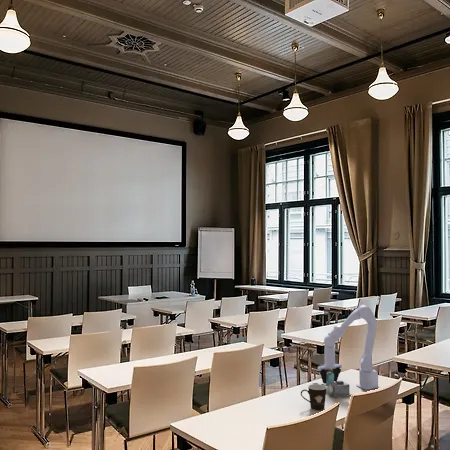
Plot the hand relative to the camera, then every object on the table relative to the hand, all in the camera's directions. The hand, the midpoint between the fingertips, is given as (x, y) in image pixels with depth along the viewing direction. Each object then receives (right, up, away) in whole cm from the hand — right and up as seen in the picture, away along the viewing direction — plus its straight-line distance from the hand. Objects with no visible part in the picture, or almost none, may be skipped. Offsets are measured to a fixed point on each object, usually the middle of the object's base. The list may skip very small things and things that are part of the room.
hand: (329, 382), depth 265 cm
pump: (0, -1, 0) cm, 1 cm away
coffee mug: (-15, -1, -34) cm, 38 cm away
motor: (0, -1, -13) cm, 13 cm away
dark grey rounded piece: (-8, -2, -1) cm, 8 cm away
